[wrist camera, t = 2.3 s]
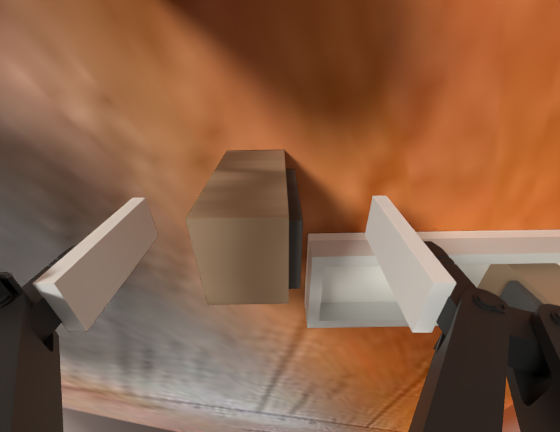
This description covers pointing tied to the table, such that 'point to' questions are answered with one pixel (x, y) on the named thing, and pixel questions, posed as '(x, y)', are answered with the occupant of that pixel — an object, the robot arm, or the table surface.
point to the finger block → (248, 230)
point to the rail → (460, 248)
